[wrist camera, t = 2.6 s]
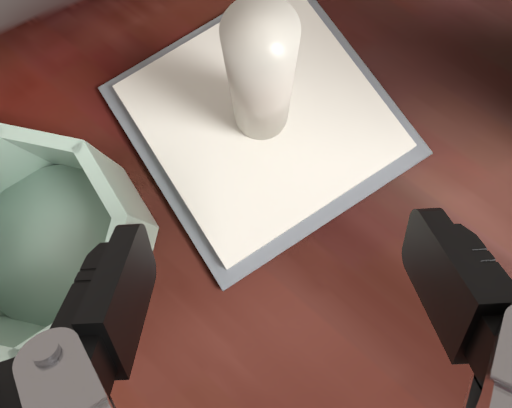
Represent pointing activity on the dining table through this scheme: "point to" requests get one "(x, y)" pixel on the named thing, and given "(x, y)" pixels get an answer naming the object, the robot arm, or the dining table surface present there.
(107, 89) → the mat
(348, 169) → the cover
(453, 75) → the dining table surface
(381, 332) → the dining table surface
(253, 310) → the dining table surface
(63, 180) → the bowl
